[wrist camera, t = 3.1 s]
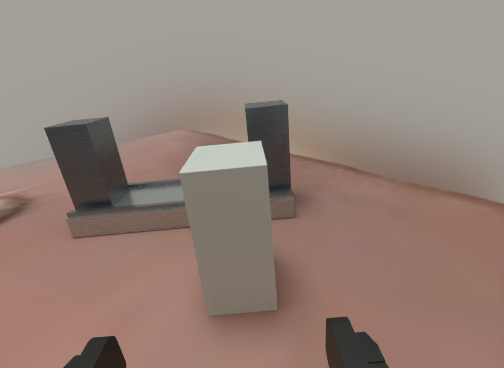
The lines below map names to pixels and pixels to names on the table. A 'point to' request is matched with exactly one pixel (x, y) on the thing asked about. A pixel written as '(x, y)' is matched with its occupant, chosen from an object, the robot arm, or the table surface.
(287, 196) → the rail
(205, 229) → the block
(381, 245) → the table surface
